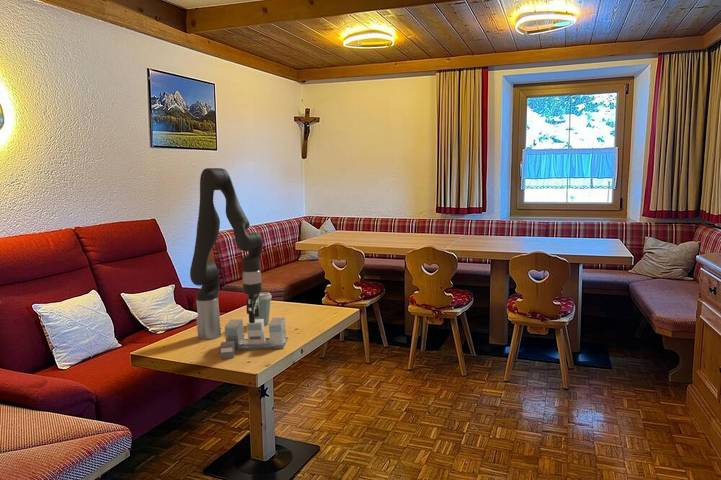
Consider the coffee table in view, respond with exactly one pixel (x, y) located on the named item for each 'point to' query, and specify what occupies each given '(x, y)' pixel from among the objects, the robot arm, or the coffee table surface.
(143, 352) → the coffee table surface
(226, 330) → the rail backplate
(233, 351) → the block
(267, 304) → the disposable coffee cup
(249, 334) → the block
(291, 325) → the coffee table surface
